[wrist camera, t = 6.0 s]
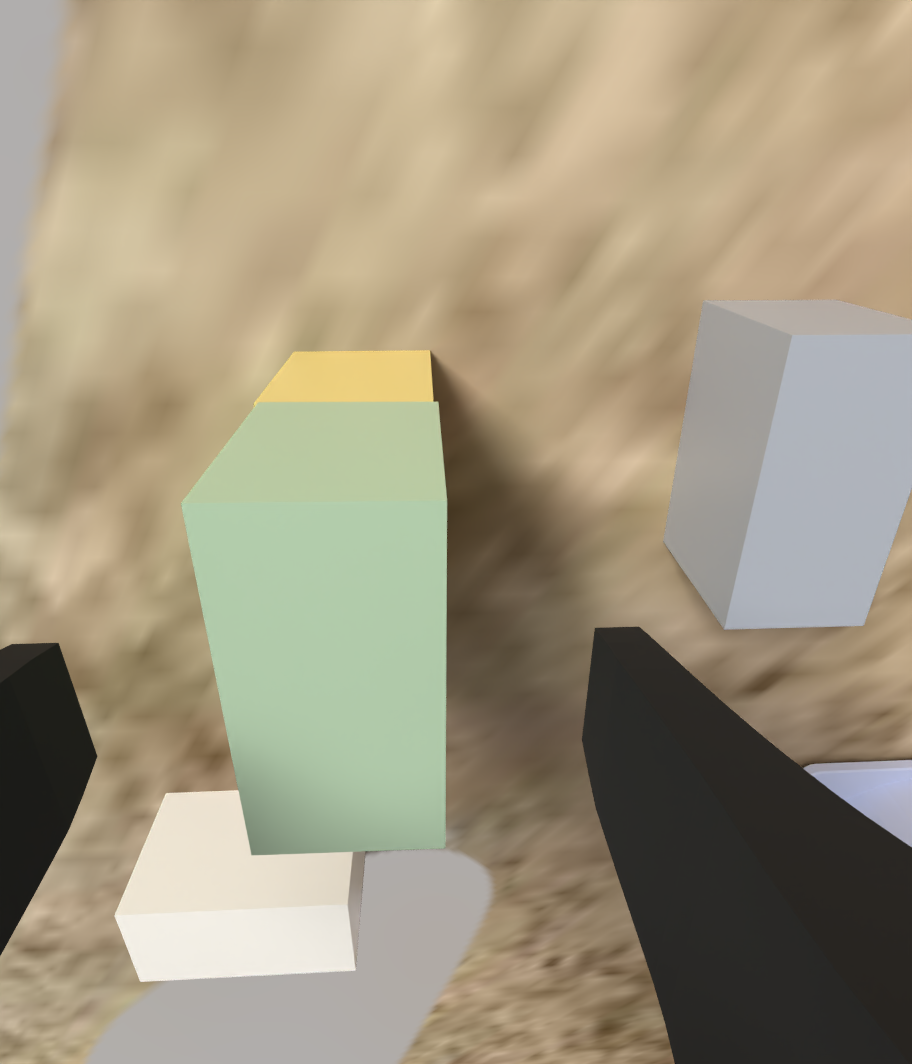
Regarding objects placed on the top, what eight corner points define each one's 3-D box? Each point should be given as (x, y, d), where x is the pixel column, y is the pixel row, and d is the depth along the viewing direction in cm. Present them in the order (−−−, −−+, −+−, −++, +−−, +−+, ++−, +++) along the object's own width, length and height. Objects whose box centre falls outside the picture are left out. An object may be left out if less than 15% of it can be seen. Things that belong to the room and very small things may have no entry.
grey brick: (773, 537, 17) (863, 625, 14) (662, 539, 17) (724, 629, 14) (833, 299, 15) (966, 334, 11) (701, 299, 15) (791, 335, 11)
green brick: (438, 680, 14) (445, 848, 10) (294, 683, 14) (251, 855, 10) (438, 401, 11) (446, 499, 8) (258, 402, 11) (181, 502, 7)
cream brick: (360, 782, 21) (347, 904, 17) (366, 845, 22) (356, 970, 19) (167, 790, 21) (114, 915, 17) (185, 853, 22) (140, 981, 18)
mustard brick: (434, 580, 17) (437, 679, 14) (320, 583, 17) (294, 684, 14) (430, 350, 15) (433, 401, 11) (294, 352, 14) (253, 403, 11)
